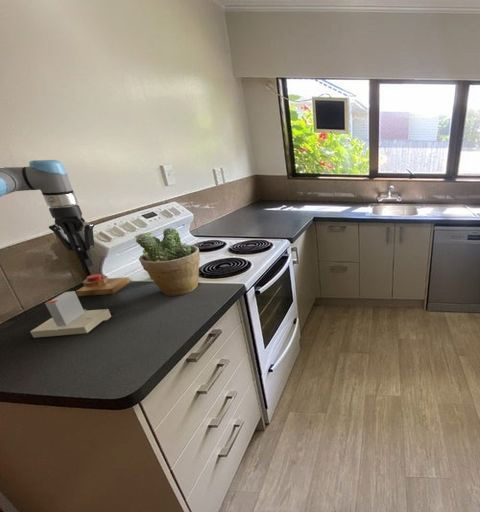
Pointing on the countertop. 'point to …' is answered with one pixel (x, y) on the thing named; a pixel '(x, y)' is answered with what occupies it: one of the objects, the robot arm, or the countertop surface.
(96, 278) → the button
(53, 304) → the white rectangular box
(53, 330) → the plate
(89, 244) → the robot arm
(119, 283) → the button block
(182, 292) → the potted plant
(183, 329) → the countertop surface
